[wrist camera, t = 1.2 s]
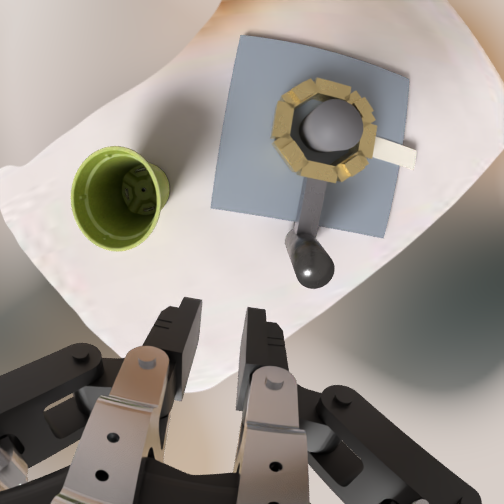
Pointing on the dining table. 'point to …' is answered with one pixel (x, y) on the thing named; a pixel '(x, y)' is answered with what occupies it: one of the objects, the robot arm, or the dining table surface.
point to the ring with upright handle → (317, 174)
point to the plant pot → (117, 198)
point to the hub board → (264, 164)
